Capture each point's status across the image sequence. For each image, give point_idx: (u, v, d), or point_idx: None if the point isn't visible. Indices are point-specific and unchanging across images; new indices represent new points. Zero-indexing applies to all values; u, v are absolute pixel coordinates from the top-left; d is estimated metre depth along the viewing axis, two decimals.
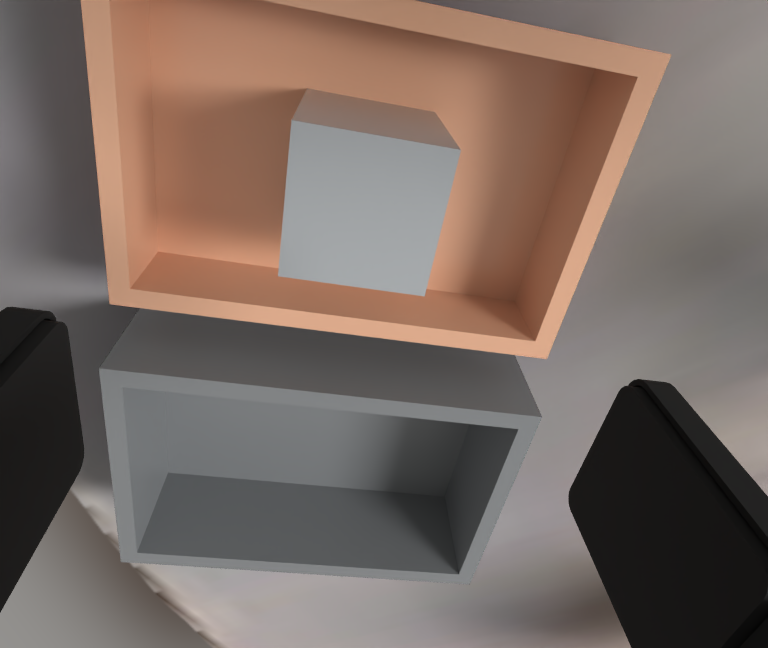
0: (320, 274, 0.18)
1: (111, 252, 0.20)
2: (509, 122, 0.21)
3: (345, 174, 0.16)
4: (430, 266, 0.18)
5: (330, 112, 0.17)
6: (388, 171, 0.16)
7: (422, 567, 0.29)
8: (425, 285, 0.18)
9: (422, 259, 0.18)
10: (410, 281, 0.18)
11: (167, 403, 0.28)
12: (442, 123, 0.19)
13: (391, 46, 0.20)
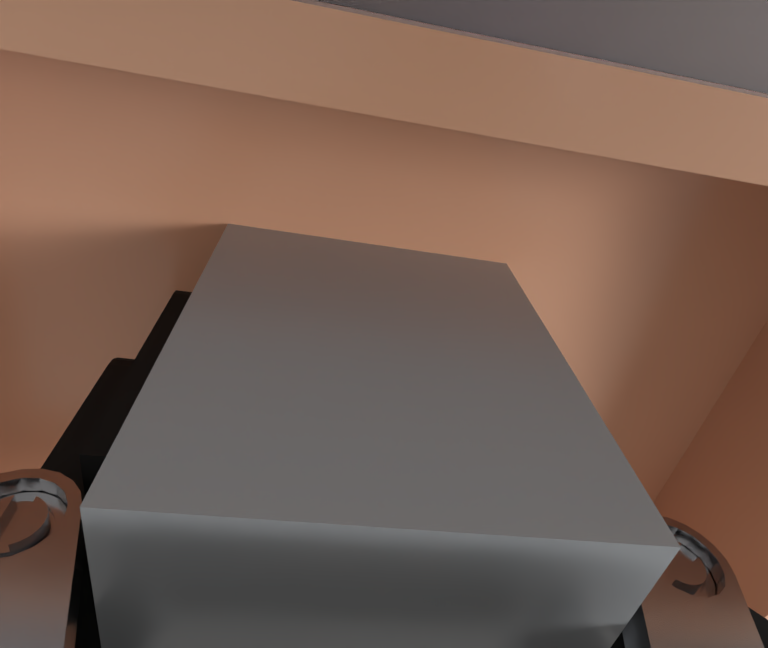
0: None
1: None
2: (658, 279, 0.10)
3: (294, 616, 0.05)
4: None
5: (258, 361, 0.06)
6: (438, 602, 0.05)
7: None
8: None
9: None
10: None
11: None
12: (543, 324, 0.08)
13: (417, 135, 0.09)
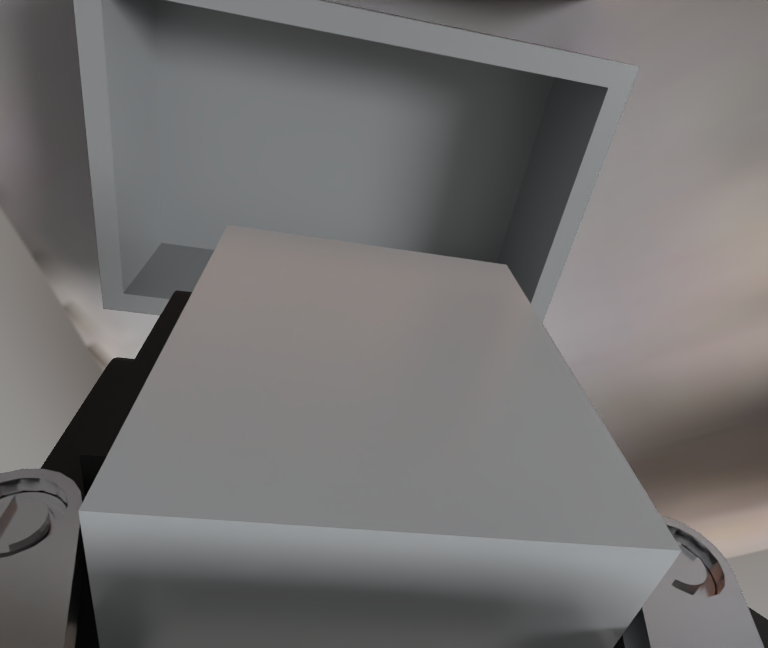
0: None
1: None
2: None
3: (295, 620, 0.05)
4: None
5: (257, 363, 0.06)
6: (438, 606, 0.05)
7: None
8: None
9: None
10: None
11: (160, 130, 0.23)
12: (543, 326, 0.08)
13: None
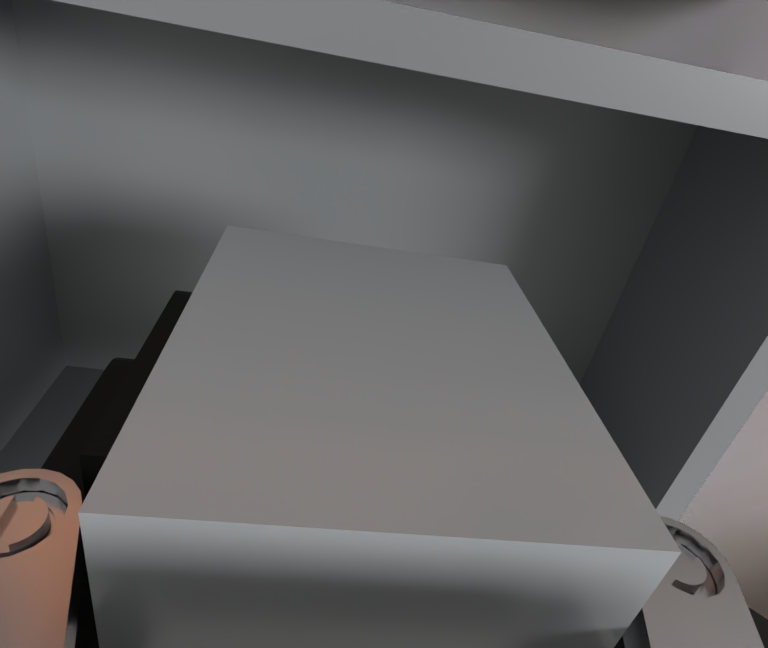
0: None
1: None
2: None
3: (295, 621, 0.05)
4: None
5: (257, 365, 0.06)
6: (438, 607, 0.05)
7: None
8: None
9: None
10: None
11: (45, 204, 0.14)
12: (543, 327, 0.08)
13: None
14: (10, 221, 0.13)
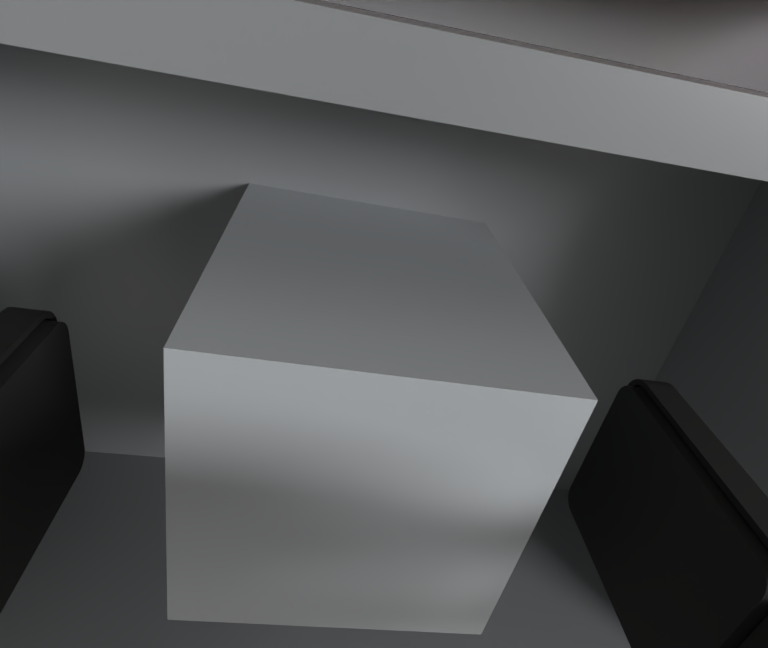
0: (261, 612, 0.08)
1: None
2: None
3: (312, 452, 0.07)
4: (498, 593, 0.08)
5: (282, 275, 0.08)
6: (418, 444, 0.07)
7: None
8: (484, 619, 0.09)
9: (482, 582, 0.08)
10: (452, 615, 0.09)
11: None
12: (512, 266, 0.10)
13: None
14: None
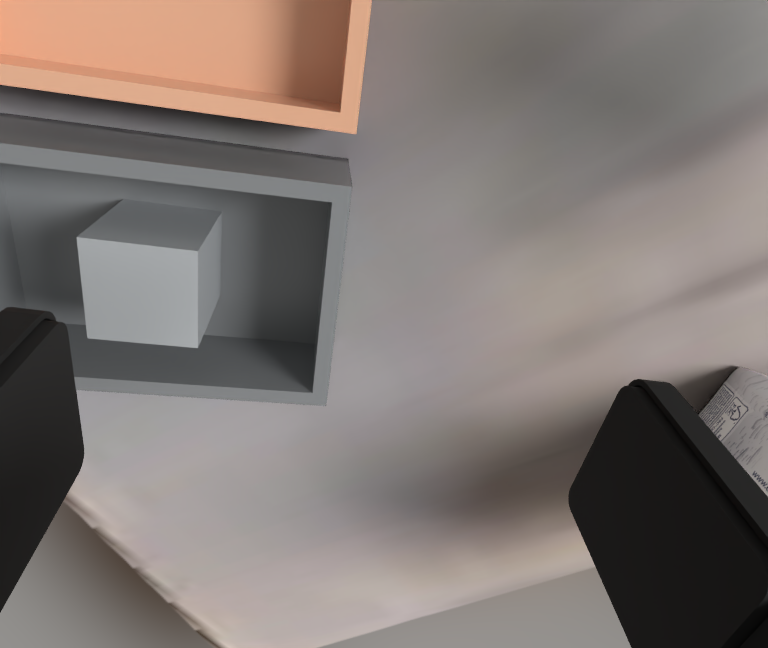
0: (118, 335, 0.25)
1: None
2: None
3: (121, 269, 0.24)
4: (196, 327, 0.25)
5: (118, 224, 0.25)
6: (151, 266, 0.24)
7: (275, 387, 0.29)
8: (196, 340, 0.26)
9: (190, 322, 0.25)
10: (184, 338, 0.26)
11: (14, 234, 0.28)
12: (214, 224, 0.27)
13: None
14: None
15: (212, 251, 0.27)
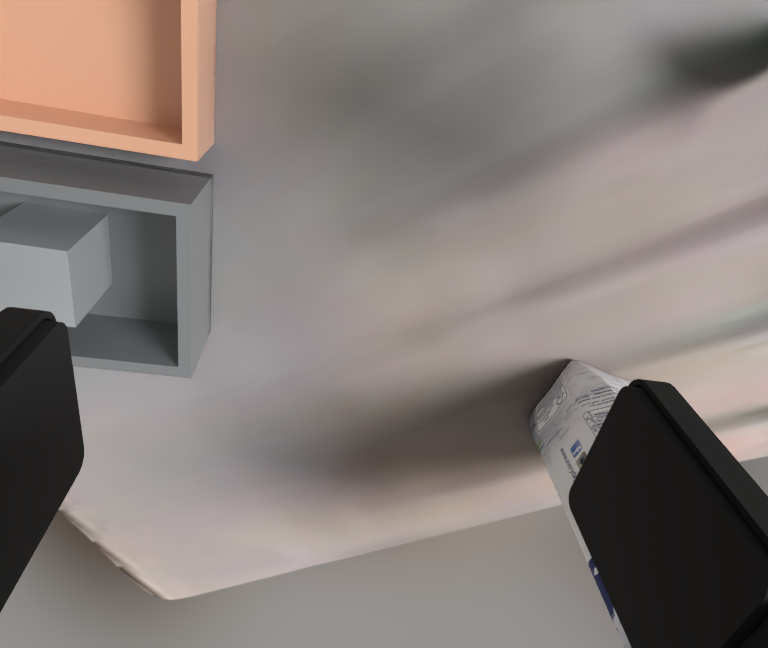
0: None
1: None
2: None
3: (6, 263, 0.30)
4: (72, 311, 0.32)
5: (9, 226, 0.31)
6: (30, 262, 0.30)
7: (148, 361, 0.35)
8: (74, 321, 0.32)
9: (67, 307, 0.32)
10: (63, 319, 0.32)
11: None
12: (94, 226, 0.33)
13: None
14: None
15: (93, 248, 0.33)
